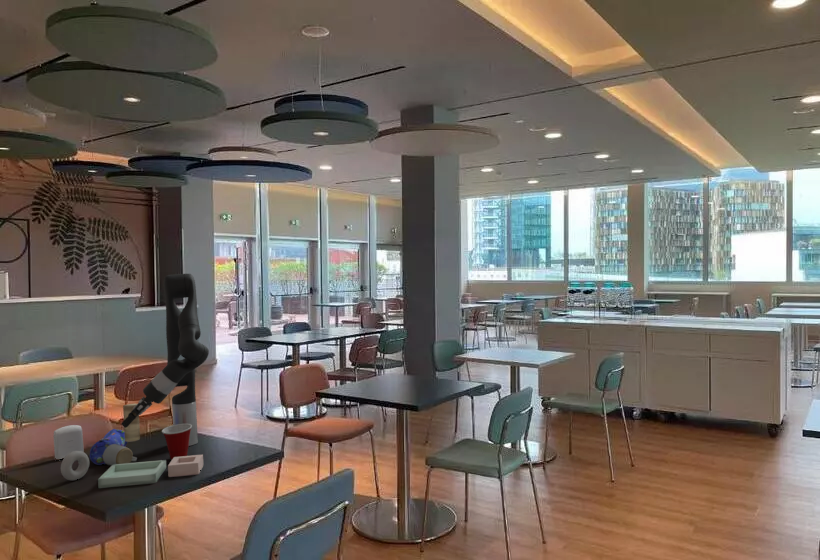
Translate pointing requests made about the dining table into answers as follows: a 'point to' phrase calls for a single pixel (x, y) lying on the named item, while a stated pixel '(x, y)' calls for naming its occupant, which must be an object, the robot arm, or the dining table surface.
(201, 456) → the socket block
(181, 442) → the plastic cup
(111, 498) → the dining table surface
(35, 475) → the dining table surface
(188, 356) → the robot arm
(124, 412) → the dowel
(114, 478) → the tray
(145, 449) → the dining table surface
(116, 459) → the ceramic mug
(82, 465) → the donut
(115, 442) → the pencil case
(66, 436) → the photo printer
